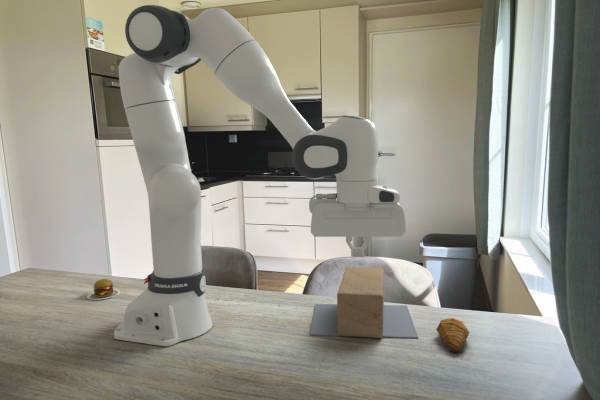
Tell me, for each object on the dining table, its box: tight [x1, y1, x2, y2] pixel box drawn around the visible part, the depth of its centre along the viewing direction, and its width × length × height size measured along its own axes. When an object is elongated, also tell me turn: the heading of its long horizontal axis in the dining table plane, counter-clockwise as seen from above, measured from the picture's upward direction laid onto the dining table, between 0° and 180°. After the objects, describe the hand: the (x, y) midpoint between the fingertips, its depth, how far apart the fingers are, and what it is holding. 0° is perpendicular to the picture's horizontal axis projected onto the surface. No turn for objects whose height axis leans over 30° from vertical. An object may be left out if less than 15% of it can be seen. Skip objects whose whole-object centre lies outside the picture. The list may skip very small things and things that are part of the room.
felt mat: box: [309, 303, 419, 339], centre depth 102 cm, size 24×18×1 cm
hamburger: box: [86, 278, 120, 301], centre depth 124 cm, size 12×12×6 cm
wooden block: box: [336, 266, 385, 339], centre depth 101 cm, size 10×10×20 cm
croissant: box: [435, 317, 470, 354], centre depth 90 cm, size 14×7×5 cm, turn 165°
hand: (357, 256), depth 91 cm, fingers closed
